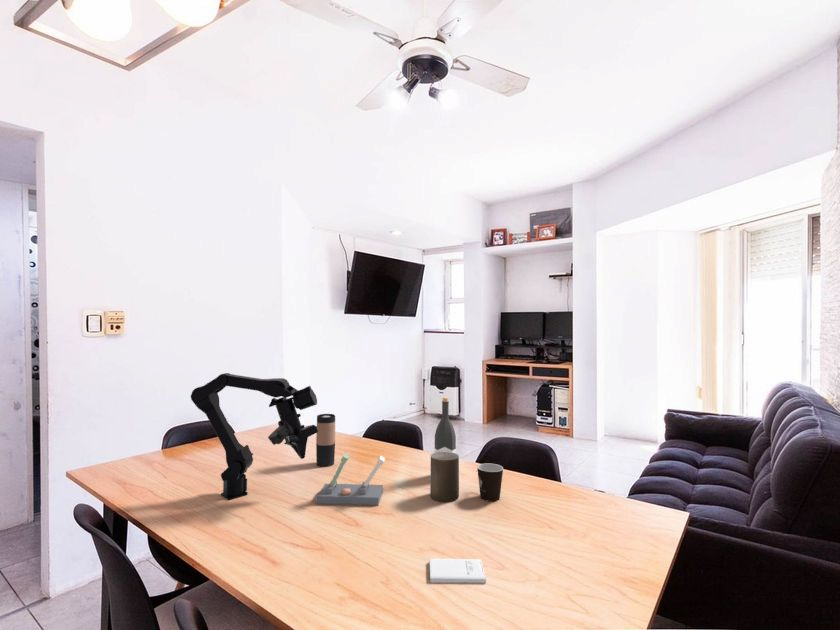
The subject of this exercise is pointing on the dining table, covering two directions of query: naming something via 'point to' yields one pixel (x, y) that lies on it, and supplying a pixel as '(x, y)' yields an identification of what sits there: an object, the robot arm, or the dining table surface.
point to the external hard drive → (456, 571)
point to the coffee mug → (490, 481)
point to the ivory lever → (373, 472)
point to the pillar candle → (444, 476)
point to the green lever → (338, 471)
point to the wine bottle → (445, 431)
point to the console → (350, 494)
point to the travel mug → (325, 440)
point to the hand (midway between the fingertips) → (303, 458)
